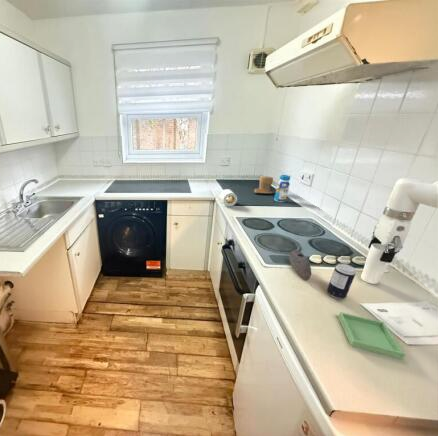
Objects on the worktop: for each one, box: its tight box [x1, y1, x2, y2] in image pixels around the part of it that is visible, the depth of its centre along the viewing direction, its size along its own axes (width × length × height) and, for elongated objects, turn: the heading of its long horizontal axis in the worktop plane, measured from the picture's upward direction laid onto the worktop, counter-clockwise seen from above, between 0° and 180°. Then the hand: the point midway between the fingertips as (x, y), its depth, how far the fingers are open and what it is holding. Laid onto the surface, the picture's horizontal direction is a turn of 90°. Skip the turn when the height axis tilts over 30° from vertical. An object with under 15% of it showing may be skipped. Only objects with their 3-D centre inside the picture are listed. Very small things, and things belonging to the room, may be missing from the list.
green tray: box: [337, 311, 406, 360], centre depth 70 cm, size 11×12×2 cm
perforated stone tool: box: [288, 249, 312, 281], centre depth 98 cm, size 15×5×7 cm, turn 168°
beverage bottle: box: [273, 174, 291, 203], centre depth 183 cm, size 8×8×20 cm
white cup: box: [360, 243, 392, 285], centre depth 92 cm, size 7×7×15 cm
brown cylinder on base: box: [254, 175, 274, 195], centre depth 204 cm, size 15×12×15 cm
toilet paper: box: [219, 188, 238, 207], centre depth 178 cm, size 10×10×10 cm
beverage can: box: [326, 263, 356, 300], centre depth 85 cm, size 6×6×12 cm
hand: (378, 255), depth 90 cm, fingers open, 9 cm apart
